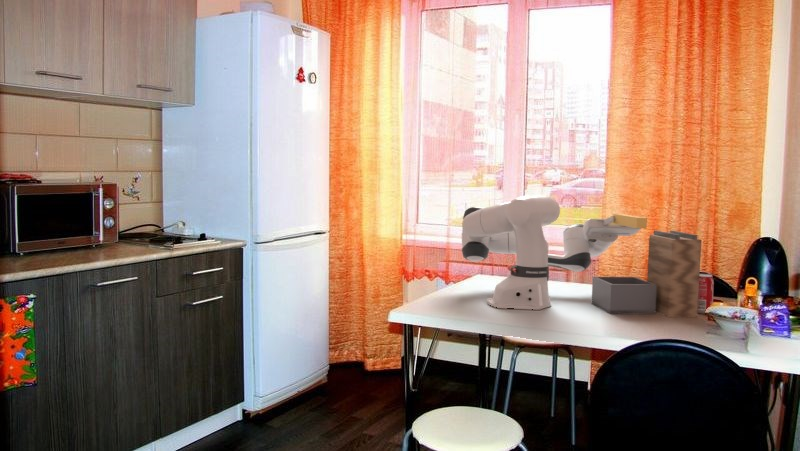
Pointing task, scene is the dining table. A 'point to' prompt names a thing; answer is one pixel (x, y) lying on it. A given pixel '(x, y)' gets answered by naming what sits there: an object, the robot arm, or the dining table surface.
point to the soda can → (705, 292)
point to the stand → (675, 272)
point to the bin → (624, 295)
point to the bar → (630, 221)
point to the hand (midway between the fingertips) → (620, 217)
